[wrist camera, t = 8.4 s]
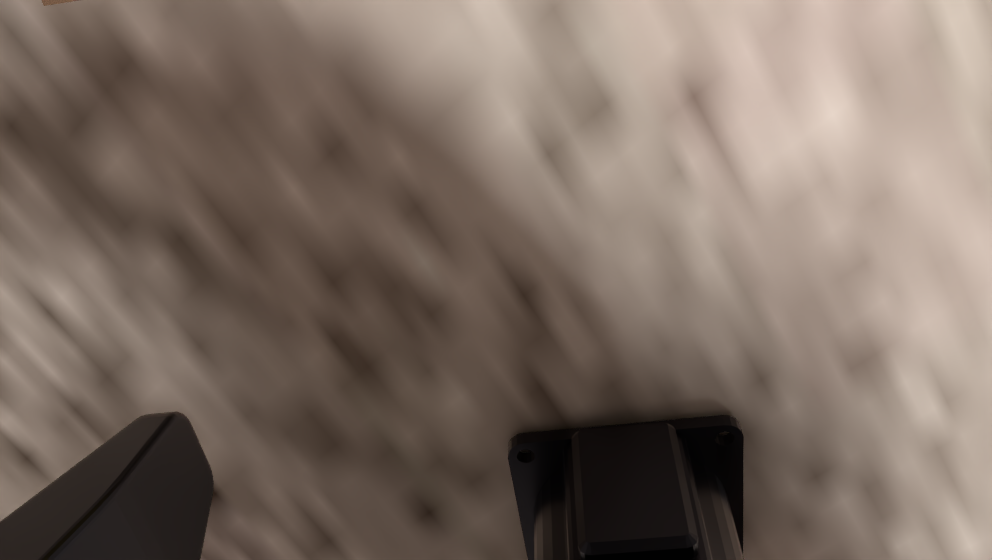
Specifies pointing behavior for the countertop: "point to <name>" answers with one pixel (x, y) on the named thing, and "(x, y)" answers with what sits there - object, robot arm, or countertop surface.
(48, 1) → the display plinth
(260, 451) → the countertop surface
